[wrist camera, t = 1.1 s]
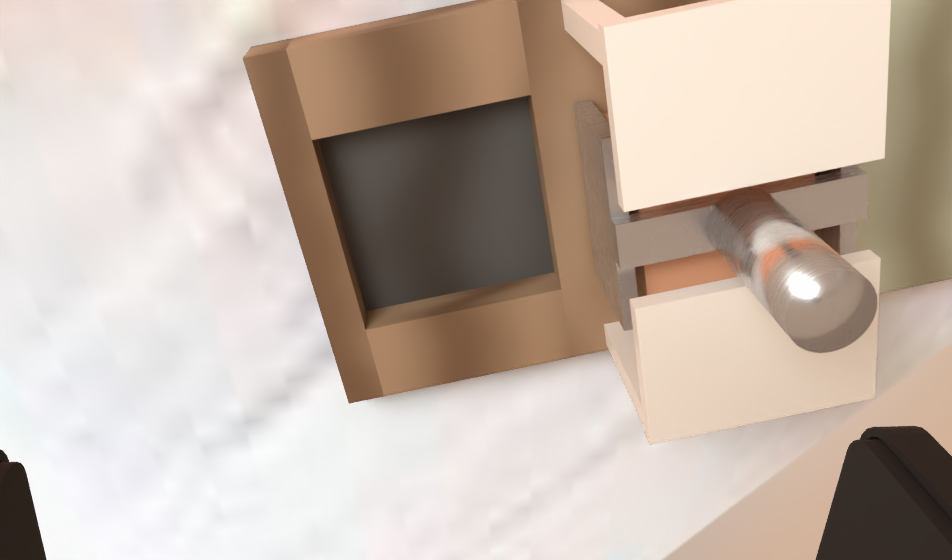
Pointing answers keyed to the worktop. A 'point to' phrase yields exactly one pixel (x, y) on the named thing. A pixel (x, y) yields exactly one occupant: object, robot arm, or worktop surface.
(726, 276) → the block
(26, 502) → the robot arm
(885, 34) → the toy bench
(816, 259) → the slider
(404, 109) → the board
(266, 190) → the worktop surface
